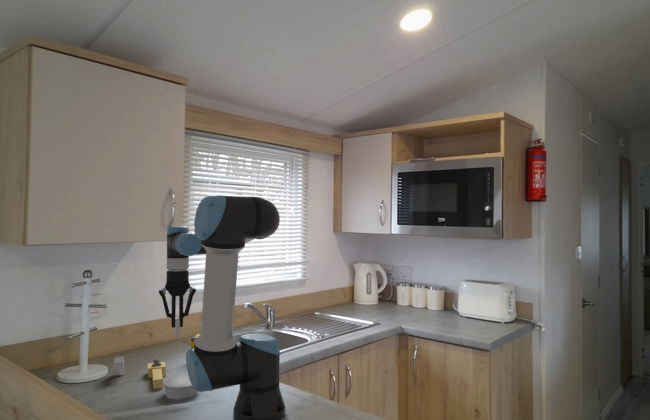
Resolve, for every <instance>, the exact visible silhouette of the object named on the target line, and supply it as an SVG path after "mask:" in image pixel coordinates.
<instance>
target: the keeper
mask: <svg viewBox="0 0 650 420" xmlns="http://www.w3.org/2000/svg"><path fill="white" fill-rule="evenodd" d="M113 369H114V377H120V376H121V377H122V376H124V375H125V356H124V355H121V356H115V357H114V362H113Z"/></svg>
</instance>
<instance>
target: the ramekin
mask: <svg viewBox="0 0 650 420" xmlns="http://www.w3.org/2000/svg"><path fill="white" fill-rule="evenodd" d="M163 388H164V393H165V397H166V398H168V399H170V400H184V399H190V398H191V397H194V396H196V395H197V394H198V391H196V390H195V389H194V388H193V386H192V384H191V382H190V379H189V376H188V374H187V375H176V376H172V377H170V378H167V379H166V380H163Z"/></svg>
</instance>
